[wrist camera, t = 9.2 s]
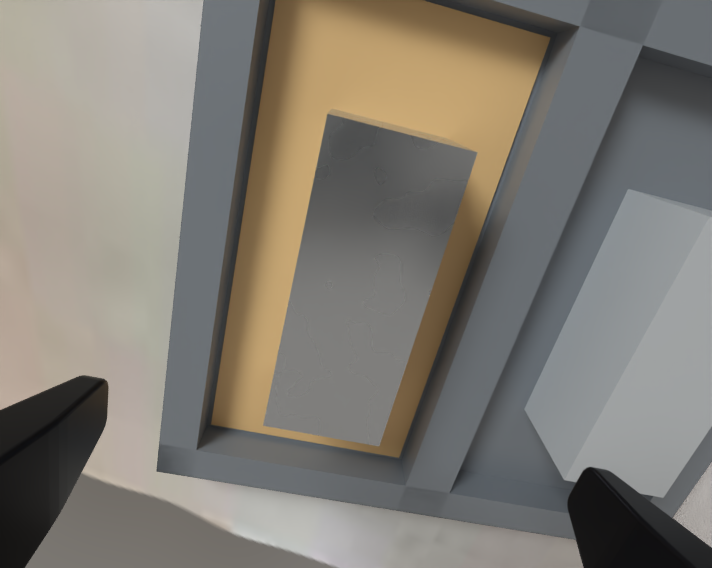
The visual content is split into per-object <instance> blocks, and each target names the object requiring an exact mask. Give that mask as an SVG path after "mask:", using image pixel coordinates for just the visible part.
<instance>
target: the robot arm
mask: <svg viewBox="0 0 712 568" xmlns="http://www.w3.org/2000/svg"><path fill="white" fill-rule="evenodd" d="M107 408H108V383H107V381H106V380H105V379H102V378H97V377H91V376H85V375H82V376H79V377H76V378H74V379H71V380H69V381H67V382H64V383H62V384H60V385H57V386H55V387H53V388H50V389H48V390H46V391H43V392H41V393H39V394H37V395H34V396H32V397H30V398H27V399H25V400H23V401H20V402H18V403H16V404H13V405H11V406H9V407H6V408H4V409H2V410H0V568H25V566H26V565H27V563H28V562H29V560H30V559H31V557H32V556H33V554H34V553H35V551H36V550H37V548H38V547H39V545H40V544H41V542H42V541H43V539H44V537H45V536H46V535H47V533H48V531H49V530H50V528H51V527H52V525H53V524H54V522H55V520H56V518H57V517H58V515H59V514H60V512H61V510H62V509H63V507H64V505H65V503H66V501H67V499H68V497H69V495H70V493H71V492H72V490H73V488H74V486H75V484H76V482H77V480H78V478H79V476H80V474H81V472H82V470H83V469H84V467H85V465H86V463H87V461H88V459H89V457H90V455H91V453H92V451H93V449H94V447H95V445H96V444H97V442H98V440H99V438H100V436H101V434H102V432H103V430H104V427H105V424H106V420H107ZM567 507H568V513H569V516H570V520H571V523H572V527H573V531H574V534H575V538H576V542H577V545H578V549H579V553H580V556H581V560H582V563H583V567H584V568H712V548H711V547H710V546H708V545H707V544H706V543H705V542H703V541H702V540H701V539H699V538H698V537H697V536H695V535H694V534H693V533H691V532H690V531H689V530H687V529H686V528H685V527H683V526H682V525H681V524H679V523H678V522H677V521H676V520H674V519H673V518H672V517H670V516H669V515H668V514H666V513H665V512H664V511H662V510H661V509H660V508H658V507H657V506H656V505H654V504H653V503H652V502H650V501H649V500H648V499H647V498H645V497H644V496H643V495H641V494H640V493H639V492H637V491H636V490H635V489H633V488H632V487H631V486H629V485H628V484H627V483H625V482H624V481H623V480H621V479H620V478H619V477H618V476H616V475H615V474H614V473H612V472H611V471H609V470H606V469H601V468H595V467H587V468H586V469H584V470H583V471H582V473H581V475H580V477H579V478H578V480H577V482H576V484H575V485H574V487H573V489H572V491H571V493H570V494H569V497H568V501H567Z"/></svg>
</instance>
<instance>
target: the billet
mask: <svg viewBox="0 0 712 568" xmlns="http://www.w3.org/2000/svg"><path fill="white" fill-rule="evenodd" d="M477 153H478V152H476V151H474V150H471V149H469V148H467V147H465V146H463V145H460V144H458V143H456V142H454V141H452V140H449V139H447V138H444V137H440V136H436V135H432V134H428V133H424V132H421V131H417V130H413V129H409V128H405V127H401V126H397V125H394V124H390V123H386V122H382V121H378V120H374V119H371V118H367V117H363V116H359V115H355V114H351V113H347V112H344V111H340V110H336V109H331V110H330V111H329V112H328V113H327V118H326V123H325V128H324V132H323V137H322V142H321V147H320V152H319V157H318V162H317V166H316V171H315V176H314V181H313V186H312V191H311V195H310V200H309V205H308V210H307V215H306V220H305V225H304V229H303V234H302V239H301V244H300V249H299V254H298V258H297V263H296V268H295V273H294V278H293V283H292V287H291V292H290V297H289V302H288V307H287V312H286V317H285V321H284V326H283V331H282V336H281V341H280V346H279V350H278V355H277V360H276V365H275V370H274V375H273V380H272V384H271V389H270V394H269V399H268V404H267V409H266V413H265V418H264V423H263V426H267V427H273V428H279V429H284V430H290V431H296V432H301V433H307V434H312V435H318V436H324V437H329V438H335V439H340V440H346V441H352V442H357V443H363V444H368V445H374V446H380V443H381V440H382V437H383V434H384V431H385V428H386V425H387V422H388V419H389V416H390V413H391V410H392V407H393V404H394V401H395V398H396V395H397V392H398V389H399V386H400V383H401V380H402V377H403V374H404V371H405V368H406V365H407V362H408V359H409V356H410V353H411V350H412V347H413V344H414V341H415V338H416V335H417V332H418V329H419V326H420V323H421V320H422V317H423V314H424V311H425V308H426V305H427V303H428V300H429V297H430V294H431V291H432V288H433V285H434V282H435V279H436V276H437V273H438V270H439V267H440V264H441V261H442V258H443V255H444V252H445V249H446V246H447V243H448V240H449V237H450V234H451V231H452V228H453V225H454V222H455V219H456V216H457V213H458V210H459V207H460V204H461V201H462V198H463V195H464V192H465V189H466V186H467V183H468V180H469V177H470V174H471V171H472V168H473V165H474V162H475V159H476V156H477Z"/></svg>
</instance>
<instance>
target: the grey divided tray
mask: <svg viewBox="0 0 712 568" xmlns="http://www.w3.org/2000/svg"><path fill="white" fill-rule="evenodd" d="M331 109H336V110H340V111H344V112H347V113H351V114H355V115H359V116H363V117H367V118H371V119H374V120H378V121H382V122H386V123H390V124H394V125H397V126H401V127H405V128H409V129H413V130H417V131H421V132H424V133H428V134H432V135H436V136H440V137H444V138H447V139H449V140H452V141H454V142H456V143H458V144H460V145H463V146H465V147H467V148H469V149H471V150H474V151H476V152H478V153H477V156H476V159H475V162H474V165H473V168H472V171H471V174H470V177H469V180H468V183H467V186H466V189H465V192H464V195H463V198H462V201H461V204H460V207H459V210H458V213H457V216H456V219H455V222H454V225H453V228H452V231H451V234H450V237H449V240H448V243H447V246H446V249H445V252H444V255H443V258H442V261H441V264H440V267H439V270H438V273H437V276H436V279H435V282H434V285H433V288H432V291H431V294H430V297H429V300H428V303H427V305H426V308H425V311H424V314H423V317H422V320H421V323H420V326H419V329H418V332H417V335H416V338H415V341H414V344H413V347H412V350H411V353H410V356H409V359H408V362H407V365H406V368H405V371H404V374H403V377H402V380H401V383H400V386H399V389H398V392H397V395H396V398H395V401H394V404H393V407H392V410H391V413H390V416H389V419H388V422H387V425H386V428H385V431H384V434H383V437H382V440H381V443H380V446H374V445H368V444H363V443H357V442H352V441H346V440H340V439H335V438H329V437H324V436H318V435H312V434H307V433H301V432H296V431H290V430H284V429H279V428H273V427H267V426H263V423H264V418H265V413H266V409H267V404H268V399H269V394H270V389H271V384H272V380H273V375H274V370H275V365H276V360H277V355H278V350H279V346H280V341H281V336H282V331H283V326H284V321H285V317H286V312H287V307H288V302H289V297H290V292H291V287H292V283H293V278H294V273H295V268H296V263H297V258H298V254H299V249H300V244H301V239H302V234H303V229H304V225H305V220H306V215H307V210H308V205H309V200H310V195H311V191H312V186H313V181H314V176H315V171H316V166H317V162H318V157H319V152H320V147H321V142H322V137H323V132H324V128H325V123H326V118H327V113H328V112H329V111H330V110H331ZM711 462H712V0H204V2H203V12H202V22H201V32H200V42H199V52H198V62H197V72H196V82H195V92H194V102H193V112H192V122H191V132H190V142H189V152H188V162H187V172H186V182H185V192H184V202H183V212H182V222H181V232H180V242H179V252H178V262H177V272H176V282H175V291H174V301H173V311H172V321H171V331H170V341H169V351H168V361H167V371H166V381H165V391H164V401H163V411H162V421H161V431H160V441H159V451H158V461H157V472H163V473H170V474H176V475H182V476H188V477H194V478H200V479H206V480H212V481H219V482H225V483H231V484H237V485H243V486H249V487H255V488H262V489H268V490H274V491H280V492H286V493H292V494H298V495H304V496H311V497H317V498H323V499H329V500H335V501H341V502H347V503H353V504H360V505H366V506H372V507H378V508H384V509H390V510H396V511H403V512H409V513H415V514H421V515H427V516H433V517H439V518H445V519H452V520H458V521H464V522H470V523H476V524H482V525H488V526H494V527H501V528H507V529H513V530H519V531H525V532H531V533H537V534H544V535H550V536H556V537H562V538H568V539H574V540H576V538H575V534H574V531H573V527H572V523H571V520H570V516H569V513H568V507H567V501H568V497H569V494H570V493H571V491H572V489H573V487H574V485H575V484H576V482H577V480H578V478H579V477H580V475H581V473H582V471H583V470H584V469H586V468H587V467H595V468H601V469H606V470H609V471H611V472H612V473H614V474H615V475H616V476H618V477H619V478H620V479H621V480H623V481H624V482H625V483H627V484H628V485H629V486H631V487H632V488H633V489H635V490H636V491H637V492H639V493H640V494H641V495H643V496H644V497H645V498H647V499H648V500H649V501H650V502H652V503H653V504H654V505H656V506H657V507H658V508H660V509H661V510H662V511H664V512H665V513H666V514H668V515H669V516H670V517H672V518H673V516H674V515H675V513H676V512H677V510H678V509H679V508H680V506H681V505H682V503H683V502H684V500H685V499H686V498H687V496H688V495H689V493H690V492H691V490H692V489H693V488H694V486H695V485H696V483H697V482H698V480H699V479H700V478H701V476H702V475H703V473H704V472H705V471H706V469H707V468H708V466H709V465H710V463H711Z"/></svg>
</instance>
